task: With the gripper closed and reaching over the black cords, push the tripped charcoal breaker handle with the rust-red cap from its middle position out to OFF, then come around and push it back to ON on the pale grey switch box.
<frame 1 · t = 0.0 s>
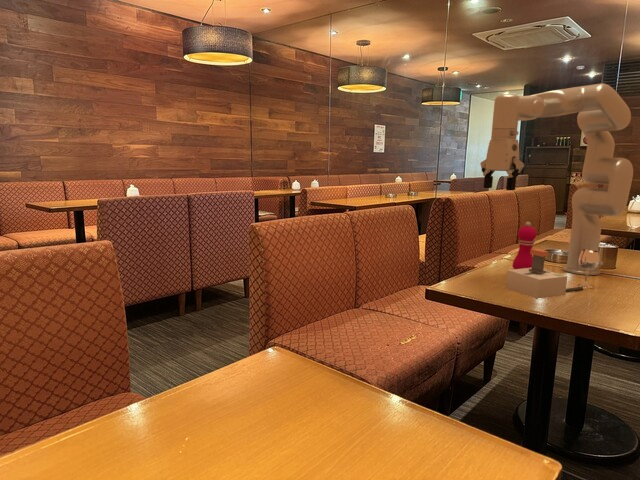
hand: (498, 189, 146), 31 cm above the table, fingers open, 9 cm apart
pepper mill: (522, 278, 158), on the table
breaker handle: (538, 261, 139), point 10 cm above the table, slide at 0.0 cm
wineglass: (585, 286, 149), on the table
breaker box: (534, 291, 141), on the table
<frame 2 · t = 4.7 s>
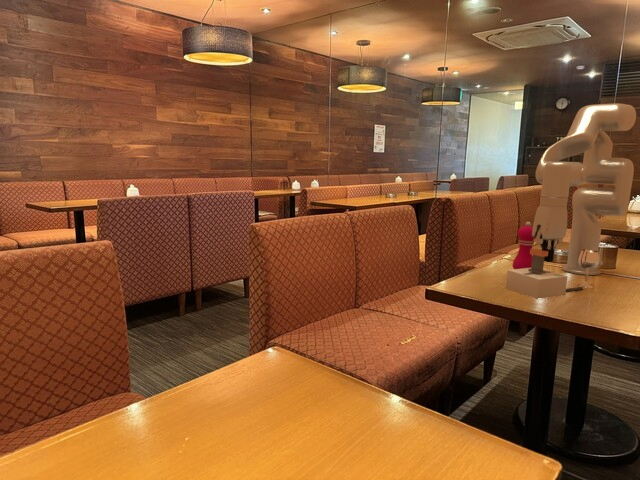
hand: (546, 261, 141), 10 cm above the table, fingers closed
breaker handle: (538, 261, 139), point 10 cm above the table, slide at 0.1 cm, touching gripper
everything else where it was.
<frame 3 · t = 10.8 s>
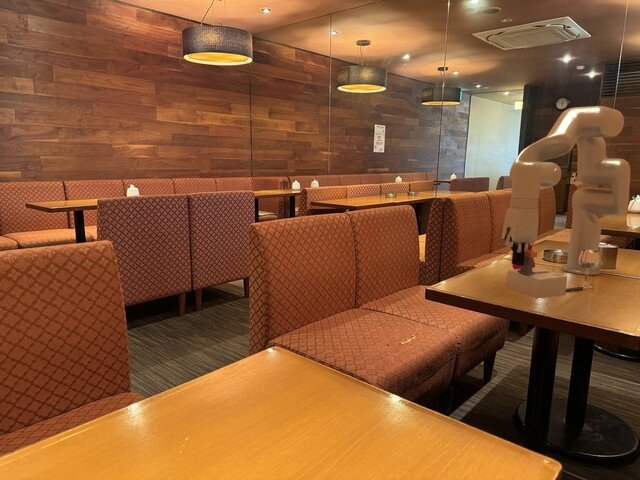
hand: (517, 264, 136), 9 cm above the table, fingers closed
breaker handle: (527, 262, 137), point 10 cm above the table, slide at 4.8 cm, touching gripper
everything else where it was.
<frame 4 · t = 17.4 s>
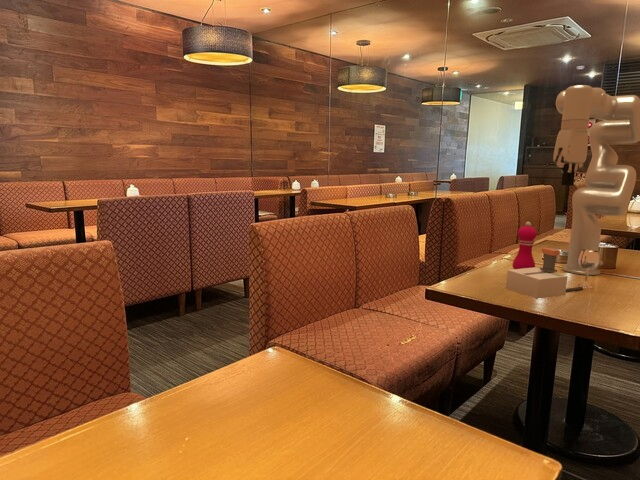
hand: (567, 185, 144), 33 cm above the table, fingers closed
breaker handle: (549, 260, 141), point 10 cm above the table, slide at -4.9 cm
everything else where it was.
at the end: breaker handle slide at -4.9 cm; pepper mill moved 0.2 cm from its start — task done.
